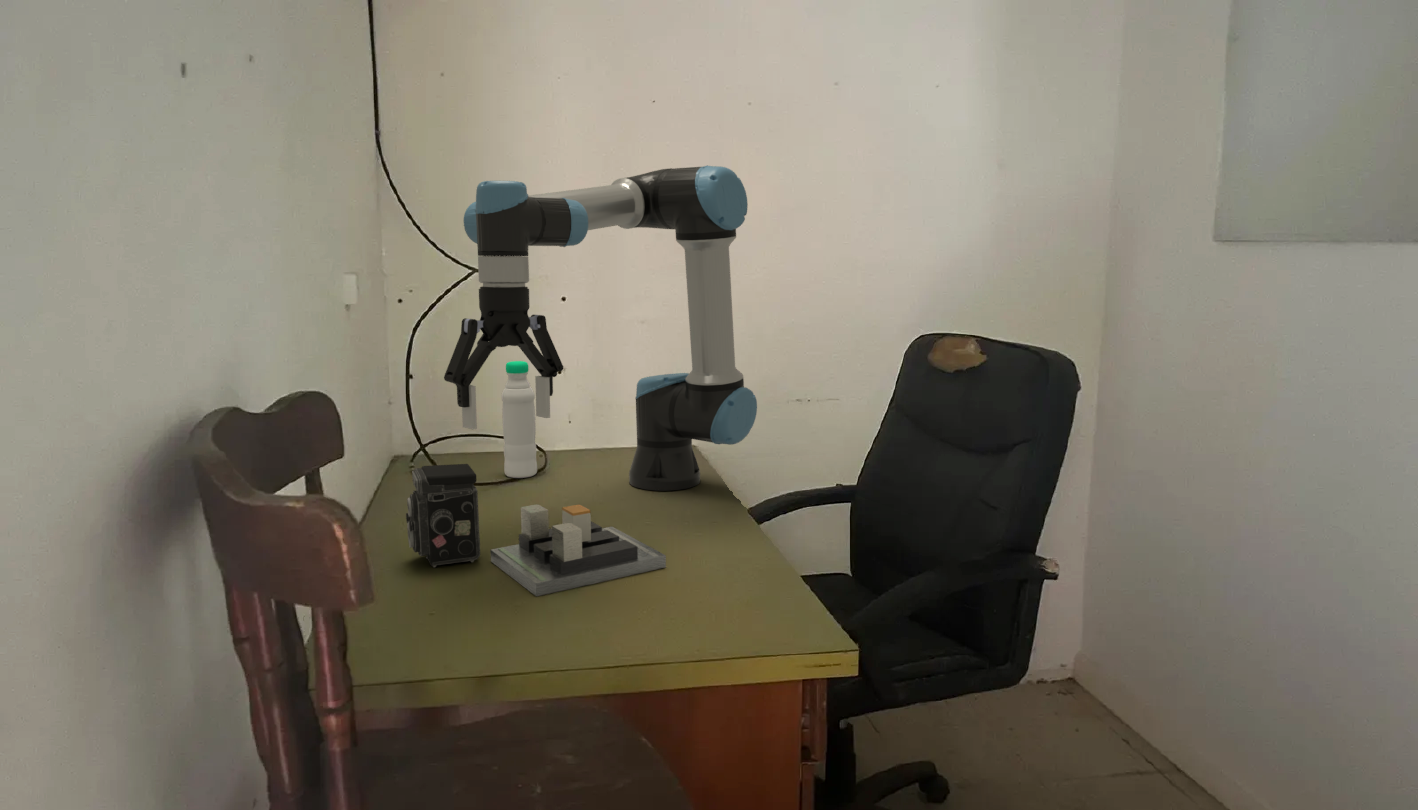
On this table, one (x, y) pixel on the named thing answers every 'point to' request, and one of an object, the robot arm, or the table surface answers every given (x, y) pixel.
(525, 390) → the water bottle
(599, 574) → the panel
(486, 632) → the table surface
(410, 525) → the camera
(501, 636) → the table surface
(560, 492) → the table surface
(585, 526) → the block
